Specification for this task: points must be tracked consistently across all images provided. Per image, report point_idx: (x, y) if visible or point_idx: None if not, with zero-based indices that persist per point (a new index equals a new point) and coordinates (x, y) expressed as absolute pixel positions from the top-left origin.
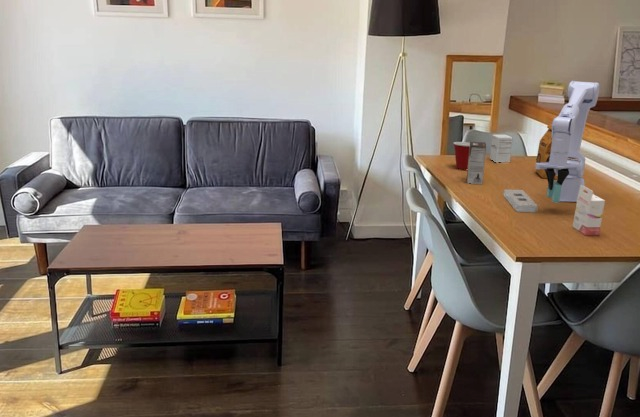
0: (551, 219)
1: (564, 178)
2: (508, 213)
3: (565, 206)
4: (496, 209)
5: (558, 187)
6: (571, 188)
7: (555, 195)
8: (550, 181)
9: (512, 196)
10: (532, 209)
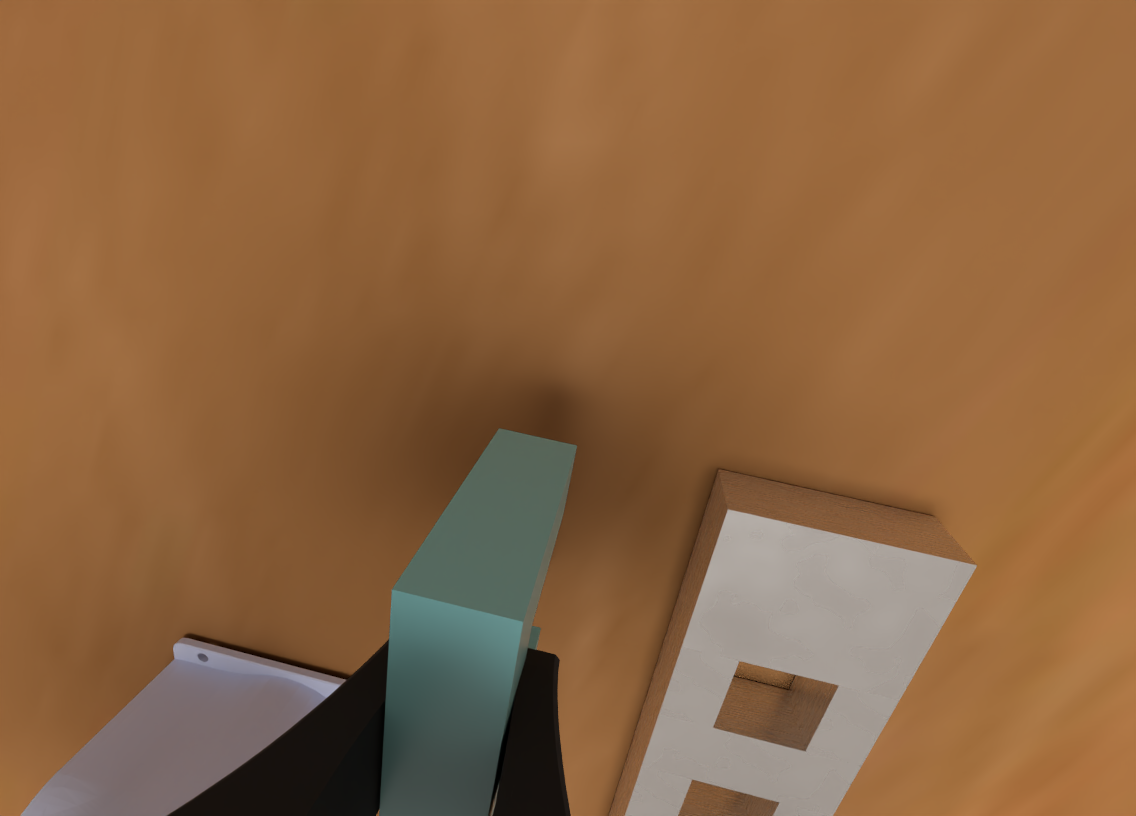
0: (687, 227)
1: (211, 806)
2: (1079, 483)
3: (353, 578)
4: (1114, 614)
5: (469, 580)
6: (189, 778)
7: (544, 493)
8: (564, 809)
9: (817, 797)
10: (775, 496)
